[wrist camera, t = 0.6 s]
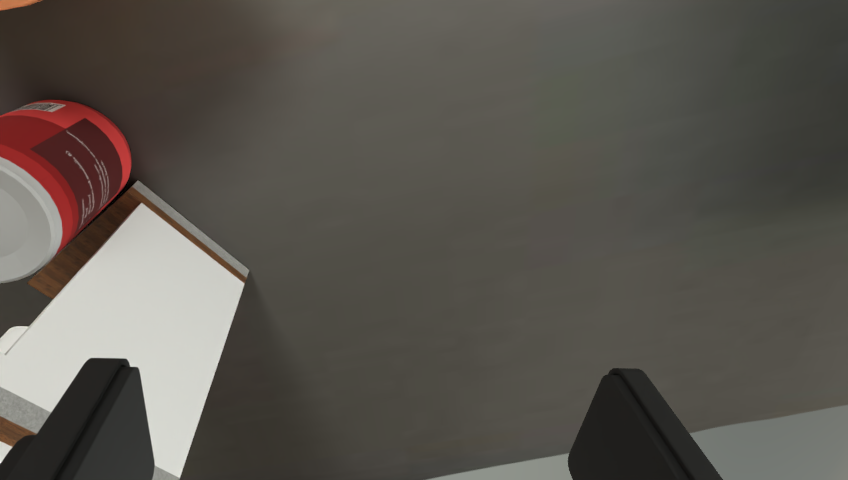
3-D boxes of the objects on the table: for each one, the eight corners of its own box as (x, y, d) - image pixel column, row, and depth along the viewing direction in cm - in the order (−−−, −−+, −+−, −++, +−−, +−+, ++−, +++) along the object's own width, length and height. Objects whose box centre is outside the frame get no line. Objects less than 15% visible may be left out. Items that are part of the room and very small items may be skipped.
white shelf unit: (138, 180, 36) (-1037, 1355, 5) (249, 270, 41) (-46, 1152, 10) (41, 268, 38) (-1151, 1430, 8) (157, 343, 43) (-301, 1238, 13)
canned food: (-12, 152, 33) (-157, 225, 24) (52, 69, 32) (-77, 113, 22) (94, 221, 37) (5, 310, 27) (158, 151, 35) (86, 219, 25)
